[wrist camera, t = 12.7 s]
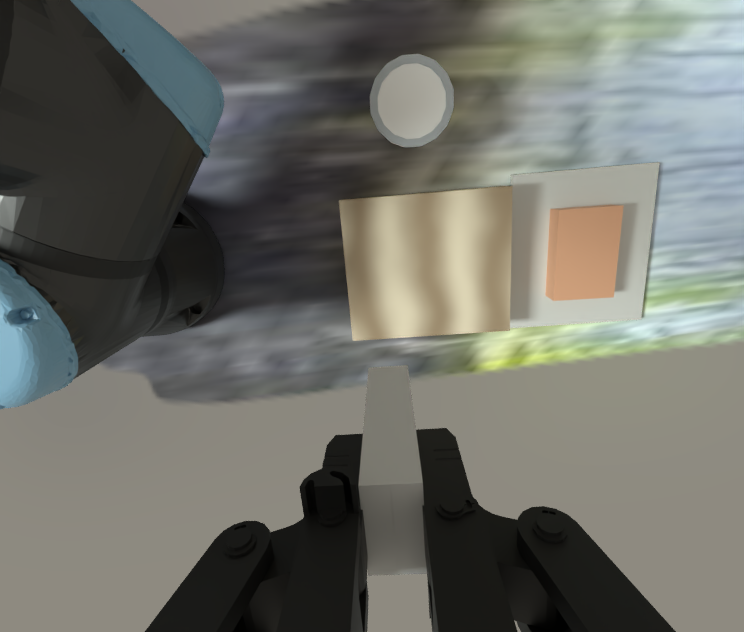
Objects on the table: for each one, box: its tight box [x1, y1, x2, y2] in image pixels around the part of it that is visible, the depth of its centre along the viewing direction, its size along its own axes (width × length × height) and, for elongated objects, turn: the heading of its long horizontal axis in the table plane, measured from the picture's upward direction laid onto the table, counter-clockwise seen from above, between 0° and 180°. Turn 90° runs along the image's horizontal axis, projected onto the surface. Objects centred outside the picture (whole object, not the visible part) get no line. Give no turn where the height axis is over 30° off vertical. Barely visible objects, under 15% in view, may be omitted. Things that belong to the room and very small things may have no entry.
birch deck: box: [339, 186, 513, 341], centre depth 42 cm, size 16×14×4 cm
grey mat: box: [510, 162, 660, 328], centre depth 43 cm, size 14×16×1 cm
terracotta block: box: [545, 205, 624, 301], centre depth 41 cm, size 6×9×2 cm, turn 4°
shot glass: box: [370, 54, 454, 147], centre depth 36 cm, size 7×7×7 cm
